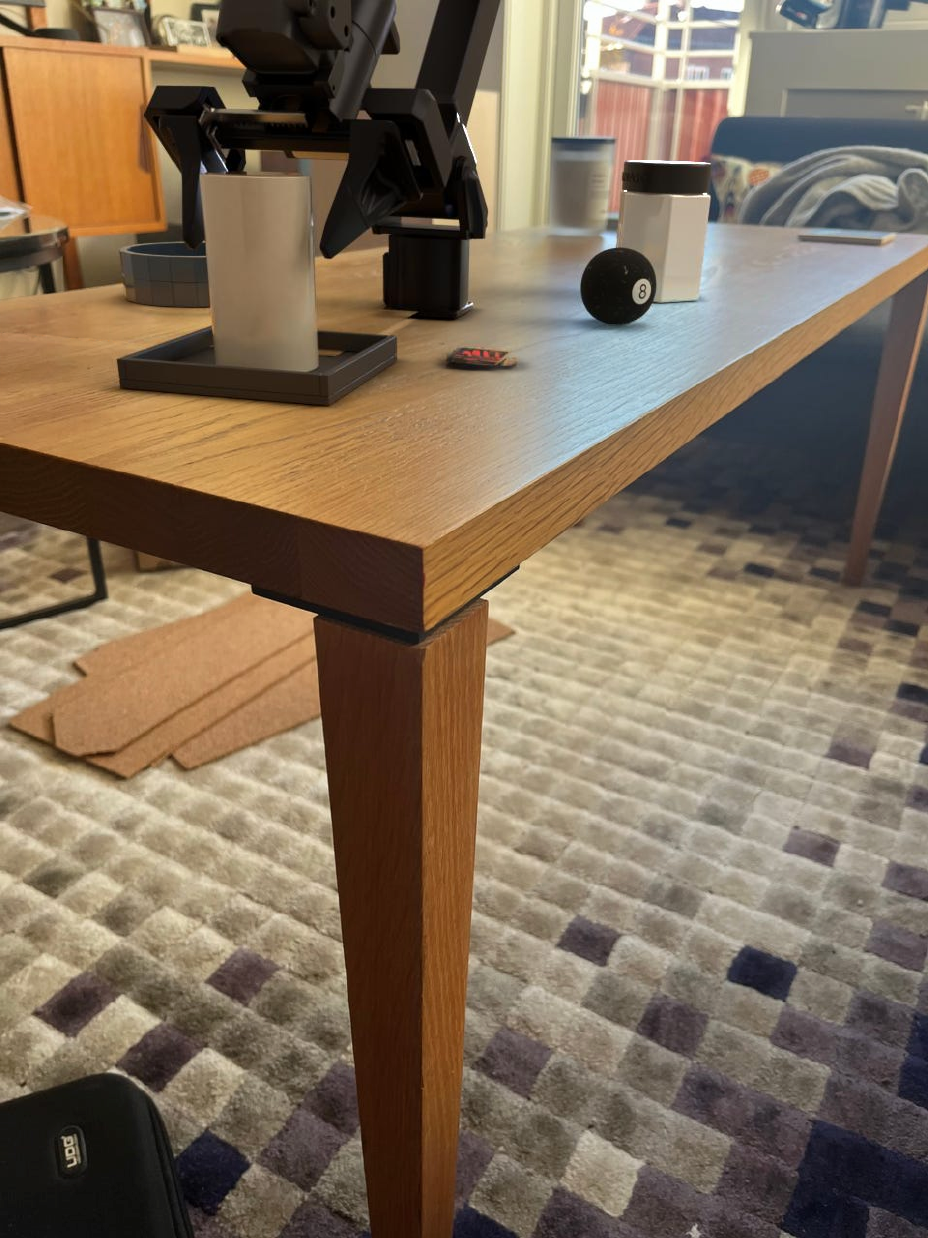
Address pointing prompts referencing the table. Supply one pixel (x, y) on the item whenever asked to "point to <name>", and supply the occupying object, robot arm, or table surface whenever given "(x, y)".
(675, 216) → the jar
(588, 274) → the billiard ball
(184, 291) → the bowl
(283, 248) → the cup
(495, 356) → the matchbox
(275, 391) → the tray
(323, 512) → the table surface
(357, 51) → the robot arm
